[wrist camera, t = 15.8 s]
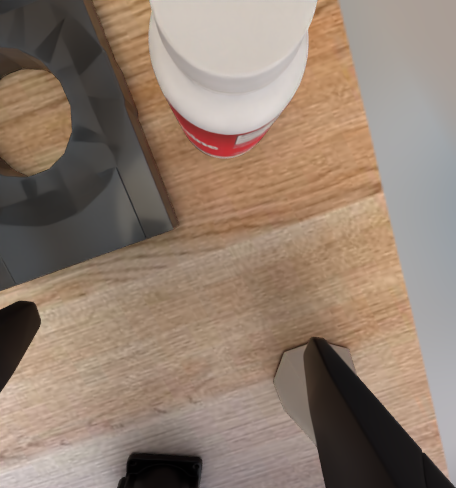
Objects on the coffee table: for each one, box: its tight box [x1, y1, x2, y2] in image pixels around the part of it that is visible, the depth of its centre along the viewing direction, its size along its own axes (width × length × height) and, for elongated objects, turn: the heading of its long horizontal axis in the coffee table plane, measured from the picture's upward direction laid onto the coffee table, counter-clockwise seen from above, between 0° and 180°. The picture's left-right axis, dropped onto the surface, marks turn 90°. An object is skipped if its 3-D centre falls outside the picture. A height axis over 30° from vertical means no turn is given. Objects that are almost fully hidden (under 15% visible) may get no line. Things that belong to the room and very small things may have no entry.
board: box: [0, 0, 179, 291], centre depth 16 cm, size 13×16×2 cm
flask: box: [273, 344, 357, 447], centre depth 17 cm, size 7×7×10 cm
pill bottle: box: [149, 0, 317, 158], centre depth 12 cm, size 6×6×11 cm
